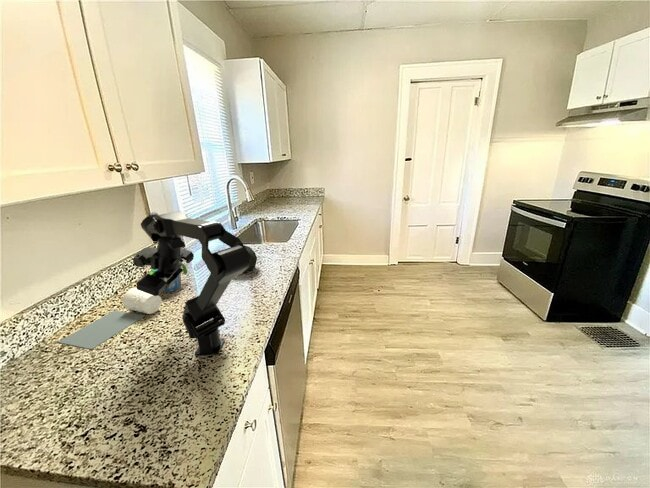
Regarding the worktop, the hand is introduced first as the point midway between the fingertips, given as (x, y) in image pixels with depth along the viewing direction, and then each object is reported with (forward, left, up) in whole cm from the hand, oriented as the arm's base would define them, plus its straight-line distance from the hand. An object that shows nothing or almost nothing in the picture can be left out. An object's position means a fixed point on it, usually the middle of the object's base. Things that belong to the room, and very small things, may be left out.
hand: (166, 288), depth 87 cm
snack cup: (+27, +14, -13) cm, 33 cm away
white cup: (+8, +10, -10) cm, 16 cm away
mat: (0, +22, -13) cm, 26 cm away
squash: (+42, -12, -13) cm, 46 cm away
